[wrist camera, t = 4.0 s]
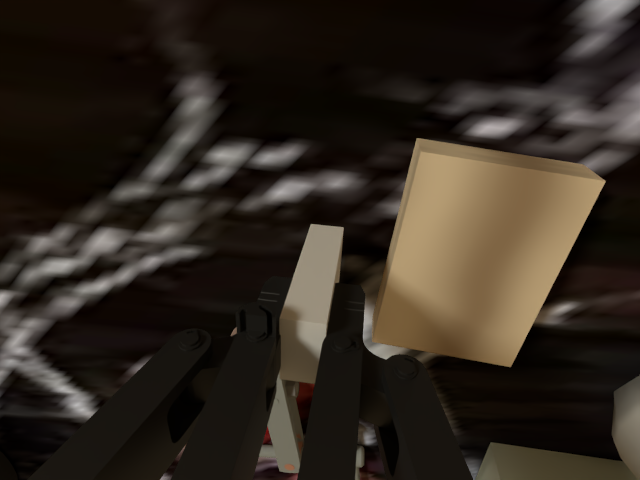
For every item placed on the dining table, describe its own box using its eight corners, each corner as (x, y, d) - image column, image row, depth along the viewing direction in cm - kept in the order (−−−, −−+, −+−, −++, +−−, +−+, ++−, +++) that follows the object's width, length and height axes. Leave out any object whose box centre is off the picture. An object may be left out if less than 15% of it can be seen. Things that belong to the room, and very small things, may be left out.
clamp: (174, 348, 23) (350, 350, 21) (190, 322, 25) (352, 322, 23) (232, 499, 30) (367, 509, 28) (240, 470, 32) (367, 478, 30)
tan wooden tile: (372, 311, 23) (372, 341, 21) (415, 135, 18) (421, 151, 16) (498, 334, 22) (510, 367, 20) (578, 161, 17) (605, 181, 15)
